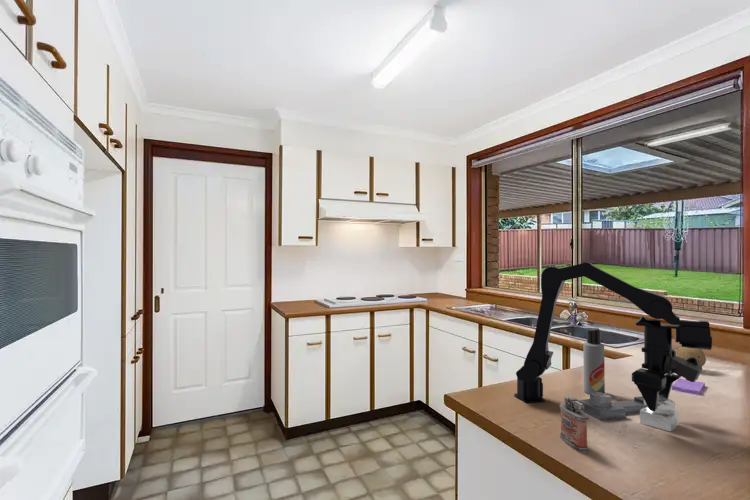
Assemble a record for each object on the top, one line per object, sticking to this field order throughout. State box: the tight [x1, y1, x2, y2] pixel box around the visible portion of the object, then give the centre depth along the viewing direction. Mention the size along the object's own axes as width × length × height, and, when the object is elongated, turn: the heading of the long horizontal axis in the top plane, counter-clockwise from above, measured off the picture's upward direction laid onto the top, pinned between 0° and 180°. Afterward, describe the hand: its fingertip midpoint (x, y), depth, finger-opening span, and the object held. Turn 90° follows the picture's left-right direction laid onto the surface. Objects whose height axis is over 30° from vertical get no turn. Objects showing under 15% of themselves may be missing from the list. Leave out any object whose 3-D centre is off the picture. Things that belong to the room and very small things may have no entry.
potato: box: [676, 346, 707, 367], centre depth 146 cm, size 9×9×10 cm
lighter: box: [559, 395, 589, 454], centre depth 87 cm, size 8×3×10 cm, turn 5°
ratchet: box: [577, 392, 644, 422], centre depth 107 cm, size 24×8×5 cm, turn 104°
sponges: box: [671, 378, 706, 396], centre depth 126 cm, size 7×13×2 cm, turn 134°
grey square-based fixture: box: [639, 395, 679, 432], centre depth 98 cm, size 6×6×6 cm
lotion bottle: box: [582, 327, 606, 395], centre depth 121 cm, size 6×6×20 cm
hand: (658, 406), depth 98 cm, fingers open, 9 cm apart
